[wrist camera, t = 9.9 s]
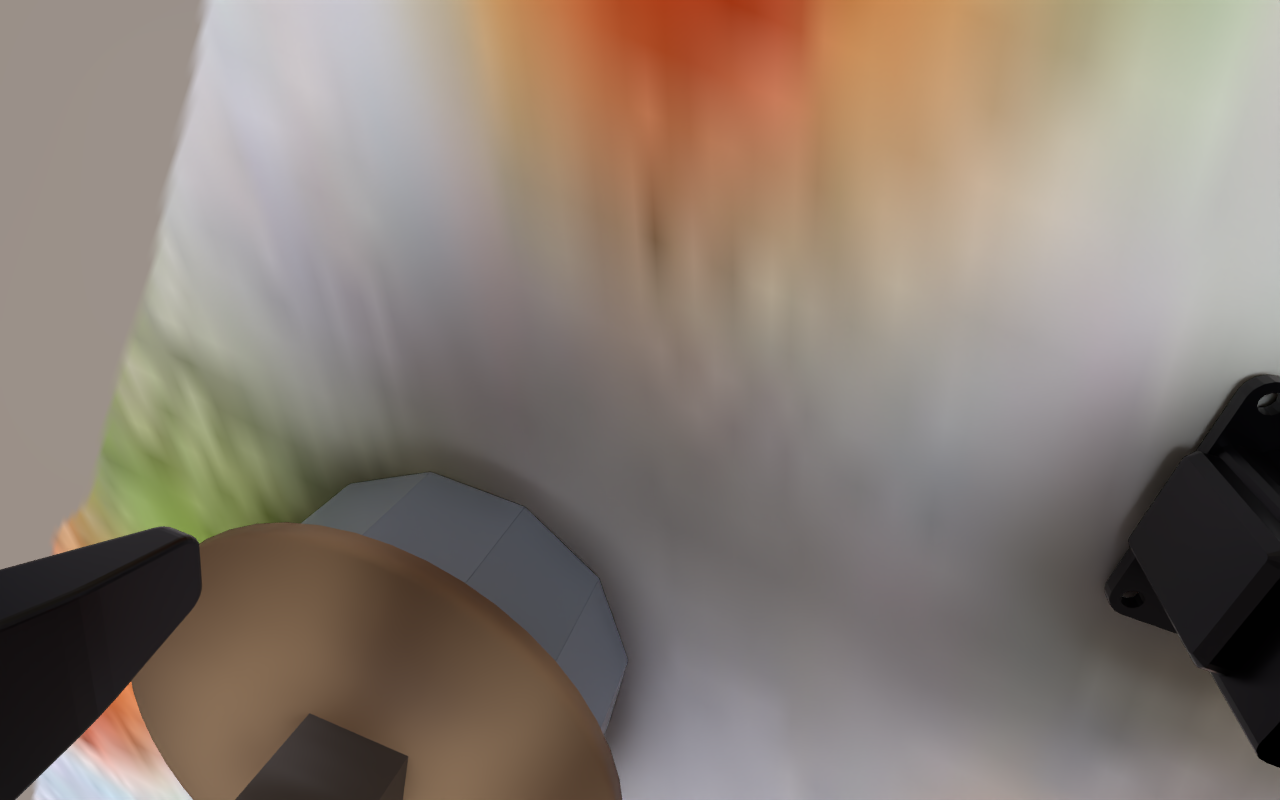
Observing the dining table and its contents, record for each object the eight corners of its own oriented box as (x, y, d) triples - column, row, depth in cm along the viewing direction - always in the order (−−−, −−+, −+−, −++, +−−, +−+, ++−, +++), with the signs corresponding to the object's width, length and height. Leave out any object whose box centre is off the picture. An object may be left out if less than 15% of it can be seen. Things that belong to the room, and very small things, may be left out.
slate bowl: (660, 557, 22) (608, 679, 18) (584, 804, 27) (530, 944, 23) (307, 426, 24) (181, 507, 19) (302, 683, 29) (202, 792, 25)
